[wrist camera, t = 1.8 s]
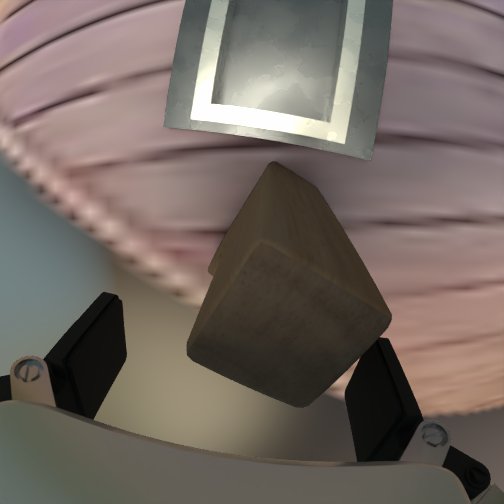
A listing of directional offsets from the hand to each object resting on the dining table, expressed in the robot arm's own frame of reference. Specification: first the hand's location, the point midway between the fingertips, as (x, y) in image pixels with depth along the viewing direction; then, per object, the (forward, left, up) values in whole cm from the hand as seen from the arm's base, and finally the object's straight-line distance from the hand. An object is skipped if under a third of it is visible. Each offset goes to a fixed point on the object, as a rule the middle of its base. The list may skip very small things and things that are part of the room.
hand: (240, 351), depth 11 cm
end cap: (+1, -15, -16) cm, 22 cm away
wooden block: (0, 0, -16) cm, 16 cm away
